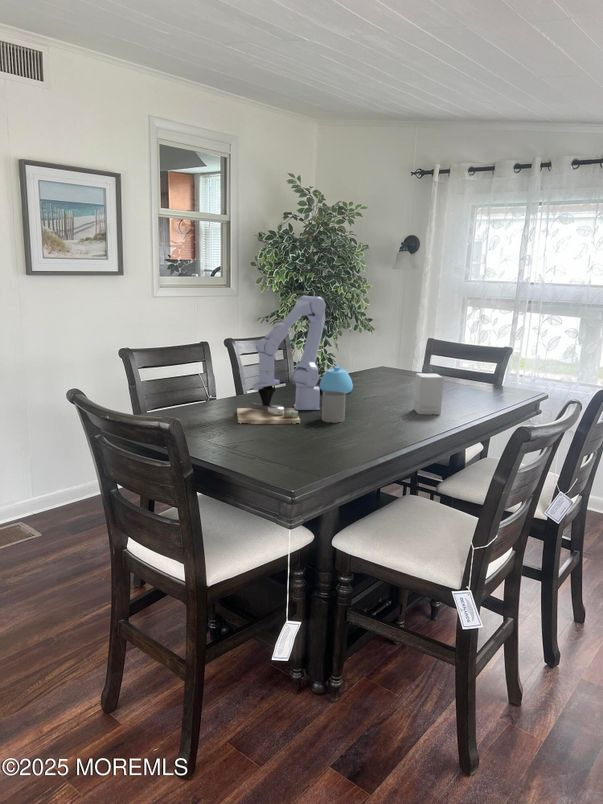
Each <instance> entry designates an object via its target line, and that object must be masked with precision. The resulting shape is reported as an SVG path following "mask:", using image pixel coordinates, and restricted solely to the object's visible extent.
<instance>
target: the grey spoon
mask: <svg viewBox="0 0 603 804" xmlns="http://www.w3.org/2000/svg"><path fill="white" fill-rule="evenodd" d="M250 408H251V409H256V410H262V411H267V412H268V414H269V415H283V414H284V408H285V407H284V406H283V405H278V404H277V405H275V404H274V405H264V404H262V403H256V402H251V403H250Z"/></svg>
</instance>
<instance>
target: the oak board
mask: <svg viewBox="0 0 603 804" xmlns="http://www.w3.org/2000/svg"><path fill="white" fill-rule="evenodd" d="M236 414H237V415H236V416H237V424H238V423H240V424H239V425H242V424H241V423H248V424H247V425H272V424H273V425H279V424H281V425H284V424H285V425H286V424H287V425H291V423H292V425H293V424H294V425H295V424H296V423H299V424H301V418H300V416H299V410H296V409H295V407H284V414H283V415H269V414H268V412H267V411H262V410H256V409H251V407H244V408H243V407H237V408H236ZM249 423H250V424H249Z"/></svg>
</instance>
